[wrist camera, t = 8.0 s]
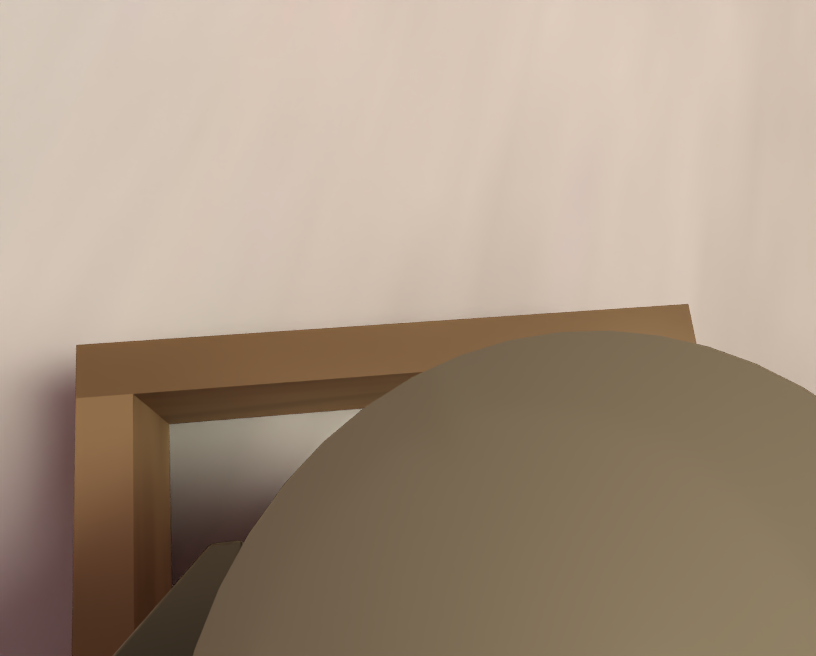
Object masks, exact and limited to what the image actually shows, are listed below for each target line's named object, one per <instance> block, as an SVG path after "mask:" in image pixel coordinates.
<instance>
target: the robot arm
mask: <svg viewBox="0 0 816 656" xmlns="http://www.w3.org/2000/svg"><path fill="white" fill-rule="evenodd" d="M242 545H243V542H242V541H231V542H221V543H213V544H211V545H210V546H208V547H207V548H206V550H205V551H204V552H203V553H202V554H201V555H200V556H199V558H198V559H197V560H196V561H195V562H194V563H193V564H192V566H191V567H190V568H189V569H188V570H187V571H186V572H185V574H184V575H183V576H182V577H181V578H180V579H179V580H178V582H177V583H176V584H175V585H174V586H173V587H172V588H171V590H170V591H169V592H168V593H167V594H166V595H165V596H164V598H163V599H162V600H161V601H160V602H159V603H158V604H157V606H156V607H155V608H154V609H153V610H152V611H151V612H150V614H149V615H148V616H147V617H146V618H145V619H144V620H143V622H142V623H141V624H140V625H139V626H138V627H137V628H136V630H135V631H134V632H133V633H132V634H131V635H130V636H129V638H128V639H127V640H126V641H125V642H124V643H123V644H122V646H121V647H120V648H119V649H118V650H117V651H116V652H115V654H114V655H113V656H193V654H194V650H195V647H196V645H197V642H198V640H199V637H200V635H201V632H202V630H203V627H204V625H205V622H206V620H207V617H208V615H209V612H210V610H211V607H212V605H213V602H214V600H215V597H216V595H217V592H218V589H219V587H220V586H221V584H222V582H223V580H224V578H225V576H226V575H227V573H228V571H229V569H230V567H231V565H232V564H233V562H234V560H235V558H236V556H237V554H238V553H239V551H240V549H241V547H242Z"/></svg>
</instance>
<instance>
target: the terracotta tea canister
mask: <svg viewBox="0 0 816 656" xmlns="http://www.w3.org/2000/svg"><path fill="white" fill-rule="evenodd" d="M193 656H816V395H814V394H813V393H811V392H809V391H808V390H806V389H805V388H803V387H801V386H799V385H797V384H795V383H793V382H791V381H789V380H787V379H785V378H783V377H781V376H779V375H777V374H775V373H773V372H771V371H769V370H767V369H765V368H763V367H761V366H759V365H757V364H755V363H752V362H750V361H747V360H744V359H741V358H738V357H736V356H733V355H730V354H727V353H725V352H722V351H719V350H716V349H713V348H711V347H708V346H703V345H699V344H694V343H690V342H686V341H681V340H677V339H672V338H668V337H664V336H659V335H649V334H639V333H629V332H619V331H579V332H557V333H551V334H545V335H539V336H532V337H526V338H520V339H514V340H509V341H505V342H502V343H499V344H495V345H492V346H489V347H486V348H482V349H479V350H476V351H473V352H469V353H466V354H463V355H460V356H457V357H455V358H453V359H451V360H449V361H447V362H444V363H442V364H440V365H438V366H436V367H433V368H431V369H429V370H427V371H425V372H423V373H420V374H418V375H416V376H414V377H412V378H410V379H409V380H407V381H405V382H404V383H402V384H401V385H399V386H398V387H396V388H394V389H393V390H391V391H390V392H388V393H386V394H385V395H383V396H382V397H380V398H378V399H377V400H375V401H374V402H372V403H371V404H369V405H367V406H366V407H365V408H364V409H362V410H361V411H360V412H359V413H358V414H356V415H355V416H354V417H353V418H352V419H350V420H349V421H348V422H347V423H346V424H344V425H343V426H342V427H341V428H340V429H338V430H337V431H336V432H335V433H333V434H332V435H331V436H330V437H329V438H327V439H326V440H325V441H324V442H323V443H322V444H321V445H320V446H319V447H318V448H317V449H316V450H315V452H314V453H313V454H312V455H311V456H310V457H309V458H308V459H307V460H306V461H305V462H304V463H303V464H302V466H301V467H300V468H299V469H298V470H297V471H296V472H295V473H294V474H293V475H292V476H291V477H290V478H289V480H288V481H287V482H286V483H285V484H284V485H283V487H282V488H281V489H280V491H279V492H278V494H277V495H276V496H275V498H274V499H273V501H272V502H271V503H270V505H269V506H268V507H267V509H266V510H265V512H264V513H263V514H262V516H261V517H260V519H259V520H258V521H257V523H256V524H255V526H254V527H253V528H252V530H251V531H250V533H249V534H248V536H247V538H246V540H245V542H244V543H243V545H242V547H241V549H240V551H239V553H238V554H237V556H236V558H235V560H234V562H233V564H232V565H231V567H230V569H229V571H228V573H227V575H226V576H225V578H224V580H223V582H222V584H221V586H220V587H219V589H218V592H217V595H216V597H215V600H214V602H213V605H212V607H211V610H210V612H209V615H208V617H207V620H206V622H205V625H204V627H203V630H202V632H201V635H200V637H199V640H198V642H197V645H196V647H195V650H194V654H193Z"/></svg>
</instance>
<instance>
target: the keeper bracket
mask: <svg viewBox="0 0 816 656" xmlns="http://www.w3.org/2000/svg"><path fill="white" fill-rule="evenodd" d="M579 331H619V332H629V333H639V334H649V335H659V336H664V337H668V338H672V339H677V340H681V341H686V342H690V343H694V344H696V339H695V334H694V330H693V325H692V320H691V315H690V310H689V305H688V304H681V305H667V306H652V307H637V308H622V309H607V310H592V311H577V312H562V313H547V314H532V315H517V316H502V317H487V318H473V319H458V320H443V321H428V322H413V323H398V324H383V325H368V326H353V327H338V328H323V329H308V330H293V331H279V332H264V333H249V334H234V335H219V336H204V337H189V338H174V339H159V340H144V341H129V342H114V343H99V344H85V345H76V407H75V474H74V541H73V608H72V656H113V655H114V654H115V652H116V651H117V650H118V649H119V648H120V647H121V646H122V644H123V643H124V642H125V641H126V640H127V639H128V638H129V636H130V635H131V634H132V633H133V632H134V631H135V630H136V628H137V627H138V626H139V625H140V624H141V623H142V622H143V620H144V619H145V618H146V617H147V616H148V615H149V614H150V612H151V611H152V610H153V609H154V608H155V607H156V606H157V604H158V603H159V602H160V601H161V600H162V599H163V598H164V596H165V595H166V594H167V593H168V592H169V591H170V590H171V588H172V565H171V508H170V452H169V424H174V423H187V422H199V421H211V420H224V419H236V418H248V417H261V416H273V415H286V414H298V413H310V412H323V411H335V410H347V409H360V408H365V407H366V406H367V405H369V404H371V403H372V402H374V401H375V400H377V399H378V398H380V397H382V396H383V395H385V394H386V393H388V392H390V391H391V390H393V389H394V388H396V387H398V386H399V385H401V384H402V383H404V382H405V381H407V380H409V379H410V378H412V377H414V376H416V375H418V374H420V373H423V372H425V371H427V370H429V369H431V368H433V367H436V366H438V365H440V364H442V363H444V362H447V361H449V360H451V359H453V358H455V357H457V356H460V355H463V354H466V353H469V352H473V351H476V350H479V349H482V348H486V347H489V346H492V345H495V344H499V343H502V342H505V341H509V340H514V339H520V338H526V337H532V336H539V335H545V334H551V333H557V332H579Z"/></svg>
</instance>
